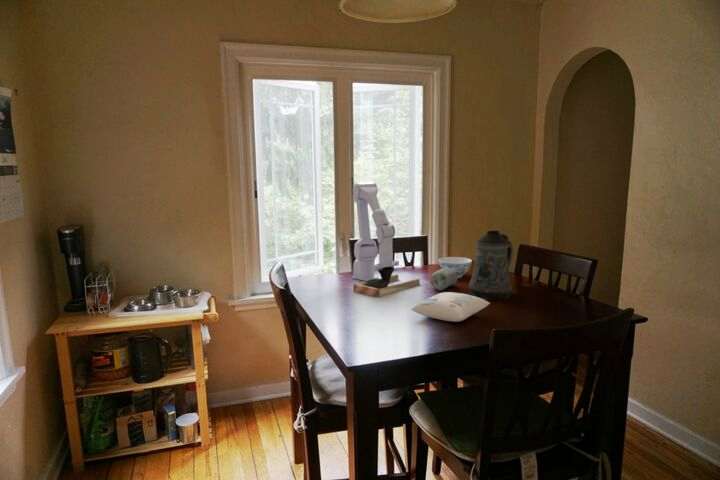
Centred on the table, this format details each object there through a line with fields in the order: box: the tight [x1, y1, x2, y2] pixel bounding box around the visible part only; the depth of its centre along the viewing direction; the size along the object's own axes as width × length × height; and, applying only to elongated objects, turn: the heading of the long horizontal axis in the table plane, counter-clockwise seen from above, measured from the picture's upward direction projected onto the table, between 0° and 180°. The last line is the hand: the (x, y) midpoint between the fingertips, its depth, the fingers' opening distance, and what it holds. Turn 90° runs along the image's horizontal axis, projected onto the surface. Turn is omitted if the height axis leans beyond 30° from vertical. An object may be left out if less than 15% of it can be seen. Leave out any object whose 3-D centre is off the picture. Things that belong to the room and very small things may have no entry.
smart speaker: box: [365, 278, 389, 289], centre depth 188 cm, size 9×9×4 cm
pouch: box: [410, 291, 491, 323], centre depth 152 cm, size 8×19×20 cm
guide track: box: [352, 273, 421, 298], centre depth 192 cm, size 13×27×3 cm, turn 134°
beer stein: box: [468, 230, 514, 301], centre depth 179 cm, size 16×19×25 cm
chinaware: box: [438, 256, 473, 279], centre depth 209 cm, size 15×15×8 cm
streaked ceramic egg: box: [430, 268, 458, 291], centre depth 190 cm, size 14×10×10 cm
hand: (386, 284), depth 192 cm, fingers closed
